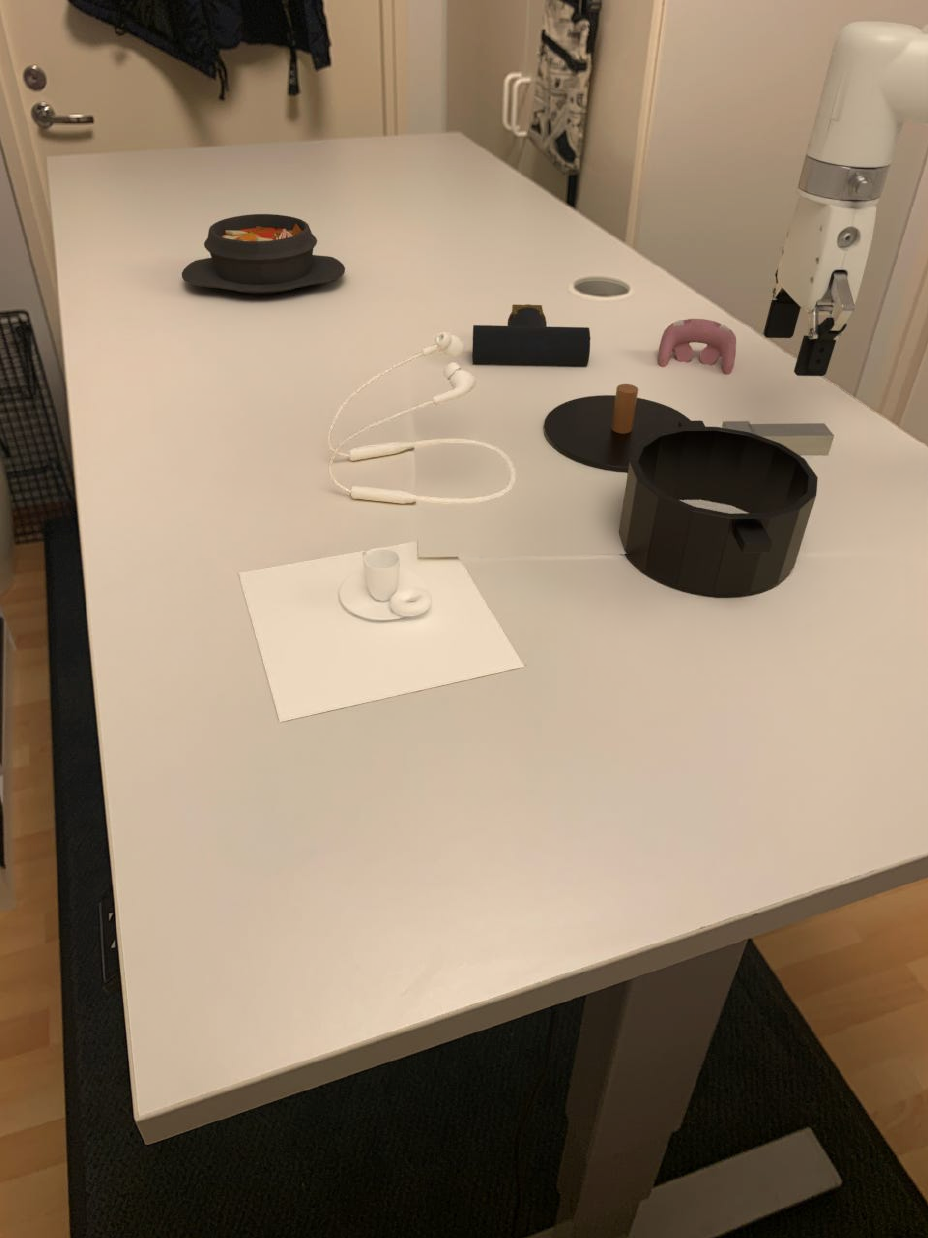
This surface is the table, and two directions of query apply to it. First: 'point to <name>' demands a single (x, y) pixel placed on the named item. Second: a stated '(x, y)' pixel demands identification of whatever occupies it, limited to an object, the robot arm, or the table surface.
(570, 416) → the lid
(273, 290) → the casserole
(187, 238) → the table surface
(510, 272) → the table surface
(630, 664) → the table surface
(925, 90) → the robot arm
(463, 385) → the earphone
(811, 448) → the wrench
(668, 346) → the video game controller
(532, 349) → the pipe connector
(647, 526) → the pot
